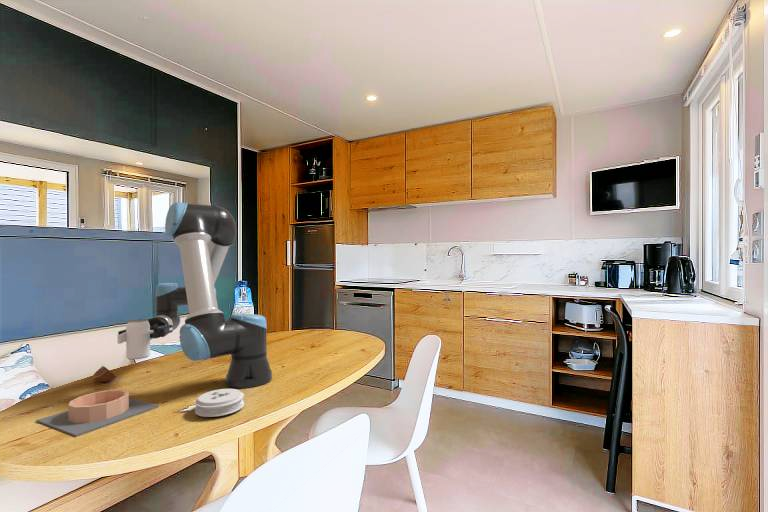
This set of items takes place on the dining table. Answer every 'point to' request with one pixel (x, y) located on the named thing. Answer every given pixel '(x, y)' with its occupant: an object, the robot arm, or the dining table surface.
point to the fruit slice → (103, 375)
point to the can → (137, 339)
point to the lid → (219, 402)
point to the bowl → (98, 406)
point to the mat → (77, 429)
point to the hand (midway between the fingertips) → (131, 338)
